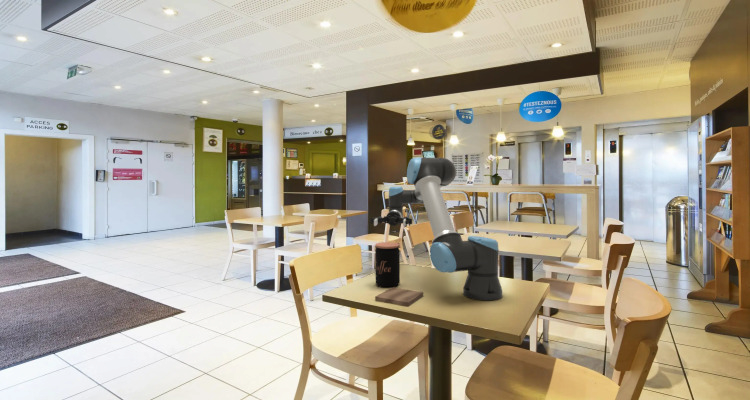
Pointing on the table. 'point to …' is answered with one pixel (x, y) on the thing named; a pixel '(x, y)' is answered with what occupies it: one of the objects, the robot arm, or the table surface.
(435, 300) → the table surface
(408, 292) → the walnut board
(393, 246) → the coffee jar
